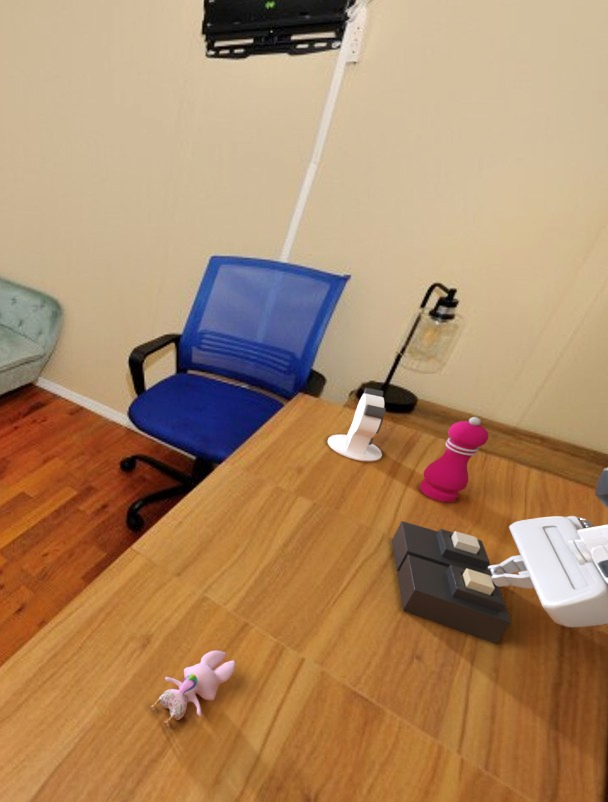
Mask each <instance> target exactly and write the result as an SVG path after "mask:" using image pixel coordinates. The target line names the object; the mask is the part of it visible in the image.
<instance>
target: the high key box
mask: <svg viewBox="0 0 608 802" xmlns="http://www.w3.org/2000/svg"><path fill="white" fill-rule="evenodd" d="M465 570H466V569H463V568H459V567H456V566H453V565H450V566H449V567H446V566H442V565H439V564H436V563H433V562H430V561H427V560H423V559H420V558H417V557H414V556H411V555H408V556H407V558H406V560H405V561H404V563H403V565H402V567H401V569H400V571H398V573H397V582H398V587H399V593H400V594H399V595H400V600H401V605H402V611H403V612H406V613H409V614H412V615H415V616H417V617H420V618H423V619H426V620H428V621H431V622H434V623H437V624H440V625H442V626H444V627H447V628H450V629H454V630H456V631H459V632H461V633H465V634H466V635H467V634H468V635H470V636H473V637H476V638H478V639H482V640H484V641H486V642H490V643H492V644H495V645H497V644H498V642H499V641H500V640H501V638H502V637H503V635H504V634H505V633H506V632H507V630H508V629H509V627H510V626H511V624H512V620H511V616H510V614H509V612H508V609H507V606H506V602H505V599H504V597H503V594H502V591H501V589H500V587H499V586H496V585H495V583H494V582H493V581H492V582H493V585H494V588H495V589H494V590H493V592H492V593H491V595H488V594H485V593H482V592H479V591H476V590H473V589H470V588H467V587H465V584H464V580H463V577H462V575H463V573H464V572H465Z"/></svg>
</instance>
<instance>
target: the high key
mask: <svg viewBox="0 0 608 802" xmlns="http://www.w3.org/2000/svg"><path fill="white" fill-rule="evenodd" d="M462 577H463V580H464V584H465V587H467V588H470V589H473V590H476V591H479V592H482V593H485V594H488V595H491V593H492V592H493V590H494V589H495V588H494V585H493V582H492V579H491V576H489V575H486V574H483V573H480V572H477V571H473V570H470V569H467V568H466V570H465V572H464V573H463V575H462Z"/></svg>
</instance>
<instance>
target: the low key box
mask: <svg viewBox="0 0 608 802" xmlns="http://www.w3.org/2000/svg"><path fill="white" fill-rule="evenodd" d="M454 532H455V531H450V530H446V529H443V528H439V530H434V529H431V528H427V527H424V526H421V525H418V524H414V523H412V522H411V523H410V522H407V521H403V520H401V521H400V523H399V525H398V527H397V528H396V531H395V533H394V535H393V537H392V539H391V543H392V550H393V557H394V562H395V569H396V572H399V571H400V569H401V567H402V565H403V563H404V561H405V560H406V558H407V556H408V555H411V556H414V557H417V558H420V559H423V560H427V561H430V562H433V563H436V564H439V565H442V566H446V567H449V566H450V565H453V566H456V567H459V568H463V569H466V568H467V569H470V570H473V571H477V572H480V573H483V574H486V575H489V576H490V573H489V570H488V566H491V562H490V559H489V555H488V553H487V551H486V548H485V545H484V542H483V541H482V540H481V539H478V538H477V540H478V543H479V546H480V549H479V551H478V552H477V554H474V553H470V552H467V551H464V550H460V549H457V548H454V547H453V543H452V540H451V537H452V535H453V533H454Z"/></svg>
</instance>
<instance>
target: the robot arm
mask: <svg viewBox="0 0 608 802" xmlns="http://www.w3.org/2000/svg"><path fill="white" fill-rule="evenodd" d="M594 496H595V497H596V498H598V499H599V502H601V503H602V504H603V505H604V506H605V507H606V508H607V509H608V466H607V467H605V468H604V469H603V470H602V472H601V473H600V475H599V477H598V479H597V482H596V485H595V491H594ZM508 529H509V531H510V534H511V536H512V538H513V541H514V543H515V546H516V548H517V550H518V552H519V554H518V555H512V556H510V557H508V558H507V559H504V560H503V561H502V562H500V563H497V564H492V565H491V564H490V565H491V566H488V570H489V573H490V576H491V579H492V581H493V582H494V583H495V585H496V586H499V588H502V587H508V586H509V587H510V586H513V587H517V588H522V589H528V590H530V589H534V590H535V592H536V595H537V597H538V600H539V602H540V604H541V607H542V608H543V610H544V611H545V612H546V614H547V615H548V616H549V618H550V619H551V620H552V621H553V622H554V623H555V624H557V625H559V626H563V627H565V628H584V627H596V626H603V625H604V626H605V625H608V524H602V525H597V526H594V524H593V522H592V521H591V520H590V519H587V518H583V517H579V516H575V515H569V516H560V515H559V516H557V515H555V516H543V517H536V518H529V519H522V520H516V521H514V522H512V523H511V524H510V525H509V526H508ZM515 573H518V574H515Z"/></svg>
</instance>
